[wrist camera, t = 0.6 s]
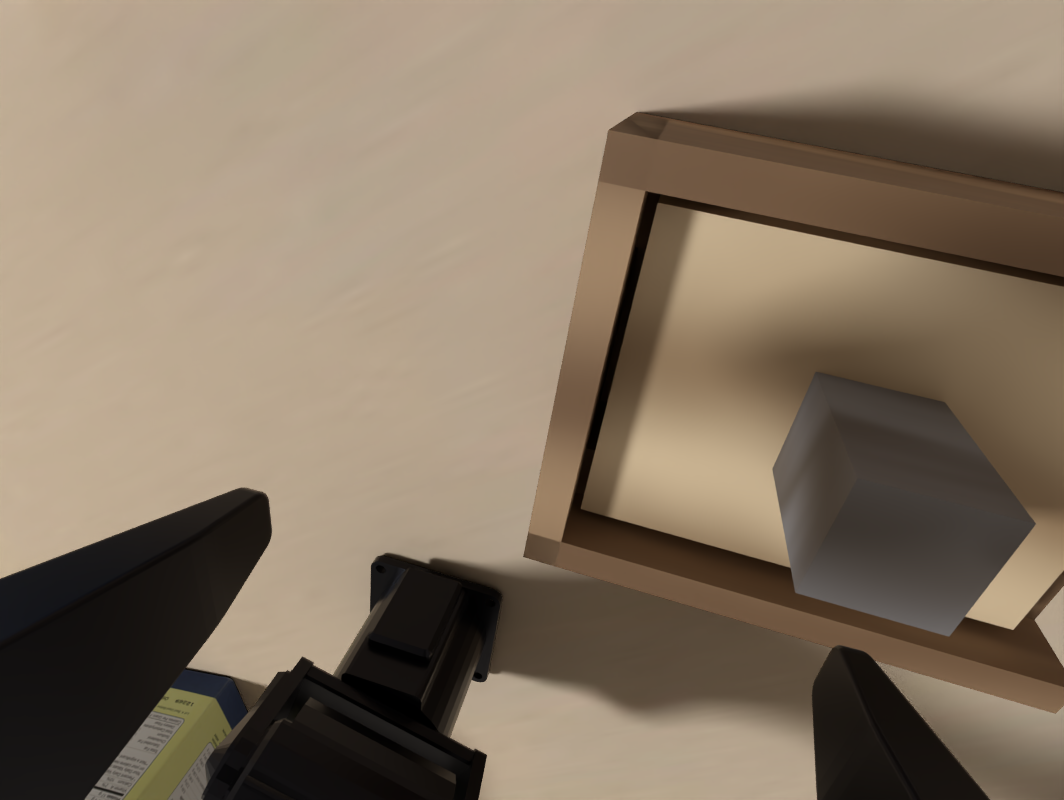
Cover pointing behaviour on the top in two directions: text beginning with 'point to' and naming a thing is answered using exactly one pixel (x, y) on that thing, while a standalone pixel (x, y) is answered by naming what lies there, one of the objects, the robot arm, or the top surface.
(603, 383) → the walnut box
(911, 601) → the oak lid
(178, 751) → the protein box
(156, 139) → the top surface
